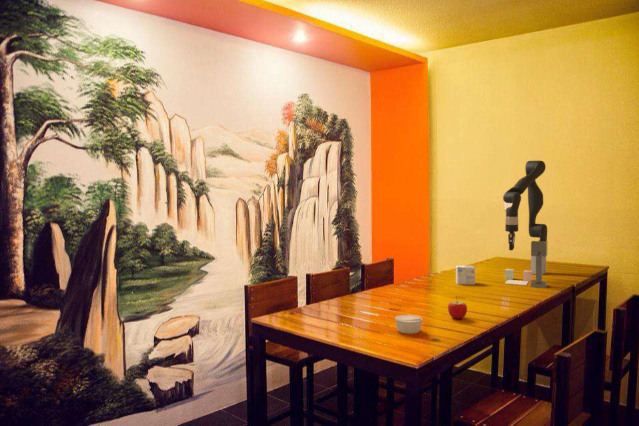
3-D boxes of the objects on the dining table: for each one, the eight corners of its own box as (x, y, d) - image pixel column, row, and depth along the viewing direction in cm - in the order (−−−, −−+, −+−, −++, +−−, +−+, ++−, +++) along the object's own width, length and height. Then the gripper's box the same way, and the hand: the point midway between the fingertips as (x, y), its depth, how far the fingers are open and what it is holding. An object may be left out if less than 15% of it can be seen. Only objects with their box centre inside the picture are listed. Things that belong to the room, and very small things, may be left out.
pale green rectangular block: (506, 278, 320) (506, 268, 320) (513, 278, 318) (513, 269, 318) (504, 279, 317) (504, 269, 316) (512, 279, 314) (512, 270, 314)
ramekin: (413, 336, 201) (413, 323, 200) (389, 331, 208) (389, 318, 208) (427, 330, 209) (427, 317, 209) (404, 325, 216) (404, 313, 216)
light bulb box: (473, 282, 307) (473, 265, 307) (475, 284, 301) (475, 267, 300) (455, 282, 308) (455, 265, 308) (457, 284, 302) (457, 267, 301)
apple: (463, 315, 231) (463, 294, 230) (469, 320, 222) (469, 298, 222) (445, 316, 230) (445, 294, 230) (451, 321, 222) (451, 298, 221)
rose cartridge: (524, 279, 314) (524, 270, 314) (532, 280, 312) (532, 270, 312) (523, 281, 310) (523, 271, 310) (531, 281, 308) (531, 271, 308)
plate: (507, 280, 313) (507, 279, 313) (528, 281, 307) (528, 281, 307) (504, 283, 303) (504, 283, 303) (525, 285, 297) (525, 284, 297)
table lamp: (532, 284, 300) (532, 240, 298) (547, 285, 296) (547, 241, 294) (530, 287, 291) (530, 242, 290) (545, 288, 287) (545, 243, 286)
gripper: (517, 224, 307) (517, 251, 307) (519, 223, 319) (518, 248, 320) (504, 224, 310) (504, 250, 311) (506, 223, 323) (506, 248, 323)
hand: (511, 249), depth 315 cm, fingers open, 8 cm apart
